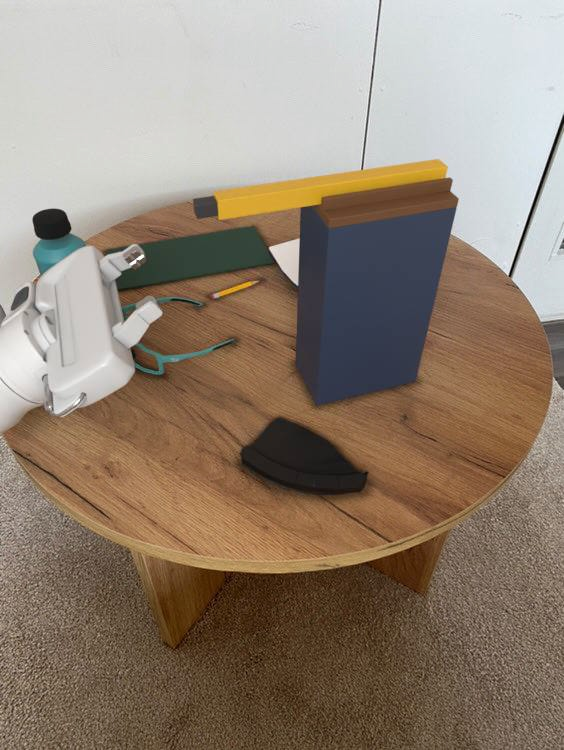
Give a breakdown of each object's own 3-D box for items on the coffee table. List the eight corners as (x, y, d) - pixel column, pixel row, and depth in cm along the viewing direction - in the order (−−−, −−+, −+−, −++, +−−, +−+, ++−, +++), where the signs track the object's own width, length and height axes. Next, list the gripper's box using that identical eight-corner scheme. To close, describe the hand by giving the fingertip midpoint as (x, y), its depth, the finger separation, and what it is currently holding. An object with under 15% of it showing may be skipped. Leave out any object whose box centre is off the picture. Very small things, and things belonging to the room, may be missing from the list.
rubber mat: (114, 291, 90) (114, 289, 90) (106, 251, 98) (105, 249, 98) (274, 263, 96) (274, 261, 96) (253, 227, 104) (253, 225, 104)
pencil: (210, 297, 90) (210, 294, 89) (258, 281, 93) (258, 277, 93) (213, 300, 89) (212, 297, 89) (261, 283, 93) (261, 280, 92)
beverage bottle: (116, 353, 80) (82, 222, 66) (66, 365, 78) (21, 233, 64) (108, 324, 84) (75, 196, 70) (61, 335, 83) (17, 206, 69)
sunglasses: (102, 331, 83) (98, 302, 80) (196, 305, 90) (196, 278, 87) (142, 390, 75) (139, 360, 71) (242, 357, 82) (244, 328, 78)
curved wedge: (338, 524, 61) (339, 515, 60) (236, 464, 67) (236, 455, 65) (376, 471, 66) (378, 462, 65) (278, 419, 72) (278, 410, 70)
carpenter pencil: (198, 223, 54) (196, 204, 53) (193, 213, 56) (191, 194, 54) (444, 185, 60) (448, 166, 59) (434, 176, 62) (438, 158, 60)
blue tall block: (316, 406, 73) (330, 208, 54) (295, 364, 79) (301, 171, 60) (415, 381, 76) (461, 187, 57) (389, 343, 82) (423, 154, 63)
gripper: (19, 409, 51) (145, 320, 48) (17, 279, 64) (115, 205, 62) (72, 440, 55) (189, 360, 53) (59, 312, 69) (152, 245, 67)
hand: (149, 276), depth 58 cm, fingers open, 8 cm apart
